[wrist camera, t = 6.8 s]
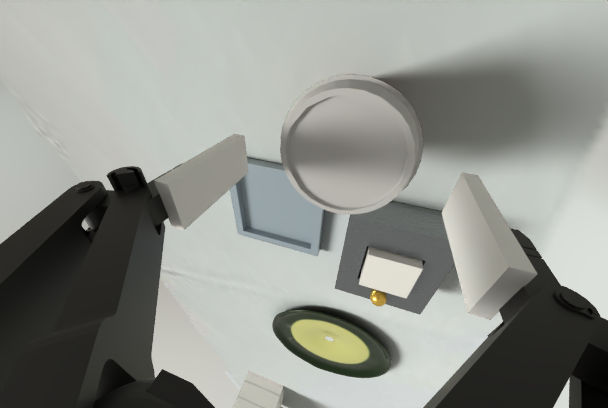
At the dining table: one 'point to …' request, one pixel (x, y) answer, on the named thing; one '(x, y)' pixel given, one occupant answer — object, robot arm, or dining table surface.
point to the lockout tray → (275, 209)
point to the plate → (331, 344)
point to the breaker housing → (397, 251)
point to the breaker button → (389, 271)
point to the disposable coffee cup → (351, 144)
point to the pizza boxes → (259, 393)
